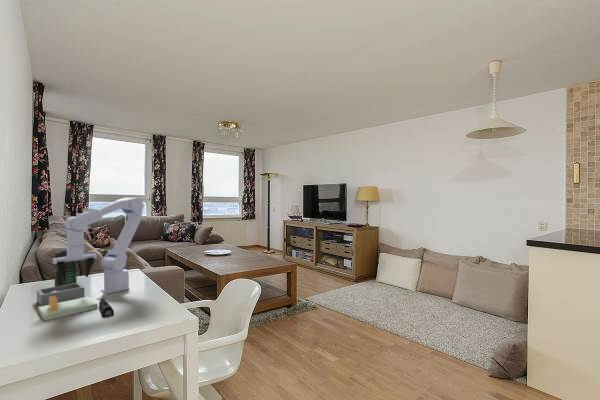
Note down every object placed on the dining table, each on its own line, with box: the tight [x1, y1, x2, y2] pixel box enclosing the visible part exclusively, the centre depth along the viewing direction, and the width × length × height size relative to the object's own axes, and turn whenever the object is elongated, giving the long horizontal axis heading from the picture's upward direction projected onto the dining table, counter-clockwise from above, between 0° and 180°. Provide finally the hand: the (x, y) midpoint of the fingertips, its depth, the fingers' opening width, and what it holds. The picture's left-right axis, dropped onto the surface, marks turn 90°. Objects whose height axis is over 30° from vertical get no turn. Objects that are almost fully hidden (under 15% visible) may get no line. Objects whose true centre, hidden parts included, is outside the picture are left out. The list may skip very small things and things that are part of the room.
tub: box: [36, 282, 85, 307], centre depth 124 cm, size 14×10×5 cm
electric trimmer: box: [98, 298, 115, 318], centre depth 114 cm, size 4×16×3 cm, turn 40°
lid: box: [37, 296, 98, 322], centre depth 114 cm, size 16×12×6 cm
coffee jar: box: [54, 247, 78, 287], centre depth 140 cm, size 10×8×19 cm
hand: (75, 278), depth 124 cm, fingers open, 7 cm apart
